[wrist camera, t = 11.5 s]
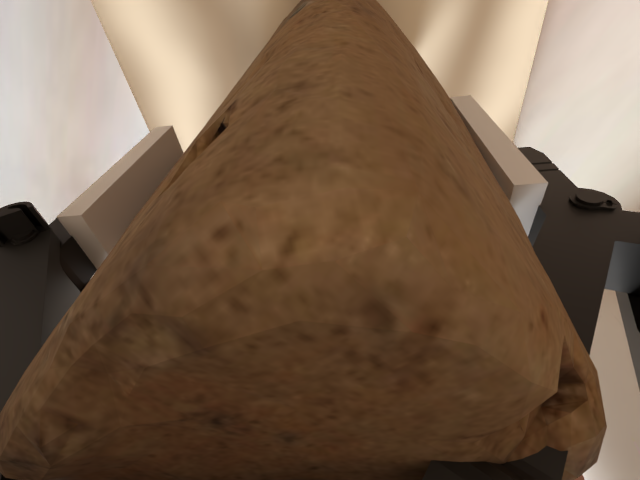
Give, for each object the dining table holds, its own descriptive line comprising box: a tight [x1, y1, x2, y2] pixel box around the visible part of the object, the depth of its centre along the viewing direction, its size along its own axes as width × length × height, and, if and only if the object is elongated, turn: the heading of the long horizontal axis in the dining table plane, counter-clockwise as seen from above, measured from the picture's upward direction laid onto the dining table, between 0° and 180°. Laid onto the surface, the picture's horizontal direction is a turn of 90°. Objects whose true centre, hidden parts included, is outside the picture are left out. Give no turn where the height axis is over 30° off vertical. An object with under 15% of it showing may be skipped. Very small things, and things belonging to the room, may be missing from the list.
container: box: [583, 289, 640, 480], centre depth 27 cm, size 10×10×20 cm
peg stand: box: [91, 0, 548, 153], centre depth 20 cm, size 24×24×5 cm
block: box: [0, 0, 607, 480], centre depth 13 cm, size 11×8×20 cm
